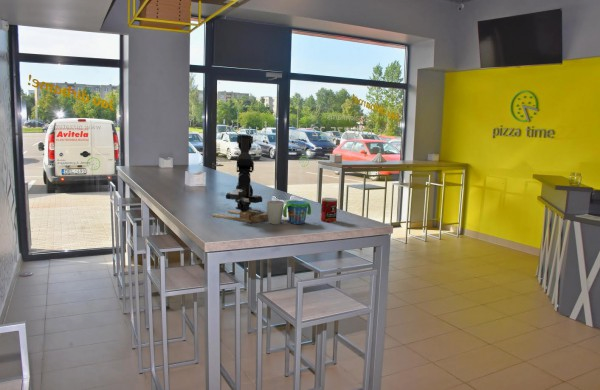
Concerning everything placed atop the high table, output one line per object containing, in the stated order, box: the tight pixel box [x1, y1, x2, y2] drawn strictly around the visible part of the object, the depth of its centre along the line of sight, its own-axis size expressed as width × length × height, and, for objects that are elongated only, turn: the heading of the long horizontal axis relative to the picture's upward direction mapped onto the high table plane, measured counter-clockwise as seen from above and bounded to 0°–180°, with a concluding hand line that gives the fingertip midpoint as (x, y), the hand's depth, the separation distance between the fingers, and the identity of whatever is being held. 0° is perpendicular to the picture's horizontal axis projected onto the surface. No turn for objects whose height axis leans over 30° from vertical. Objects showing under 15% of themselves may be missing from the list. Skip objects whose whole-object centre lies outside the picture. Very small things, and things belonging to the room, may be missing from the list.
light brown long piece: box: [211, 210, 269, 224], centre depth 239 cm, size 14×25×3 cm, turn 58°
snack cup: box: [282, 199, 312, 225], centre depth 231 cm, size 16×10×10 cm
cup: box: [266, 200, 285, 225], centre depth 230 cm, size 8×8×10 cm
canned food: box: [320, 197, 338, 223], centre depth 239 cm, size 8×8×11 cm
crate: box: [239, 209, 260, 220], centre depth 235 cm, size 7×6×4 cm
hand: (243, 214), depth 239 cm, fingers closed
